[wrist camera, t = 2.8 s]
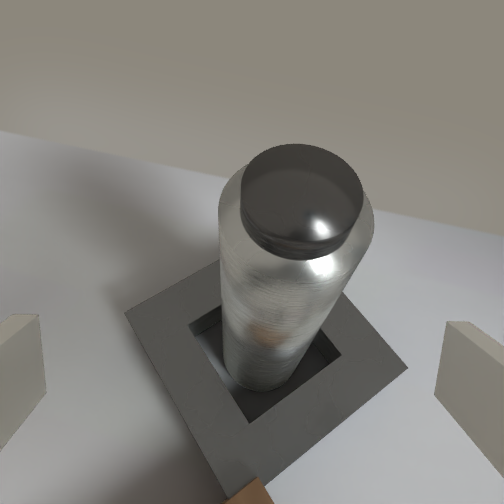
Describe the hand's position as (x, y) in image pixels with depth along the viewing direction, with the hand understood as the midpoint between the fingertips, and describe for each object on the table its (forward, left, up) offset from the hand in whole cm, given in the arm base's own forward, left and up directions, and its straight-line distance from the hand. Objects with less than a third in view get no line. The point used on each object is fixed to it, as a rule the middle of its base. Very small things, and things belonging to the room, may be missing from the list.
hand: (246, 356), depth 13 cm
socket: (-3, -2, -10) cm, 11 cm away
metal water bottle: (-3, -2, -10) cm, 11 cm away
